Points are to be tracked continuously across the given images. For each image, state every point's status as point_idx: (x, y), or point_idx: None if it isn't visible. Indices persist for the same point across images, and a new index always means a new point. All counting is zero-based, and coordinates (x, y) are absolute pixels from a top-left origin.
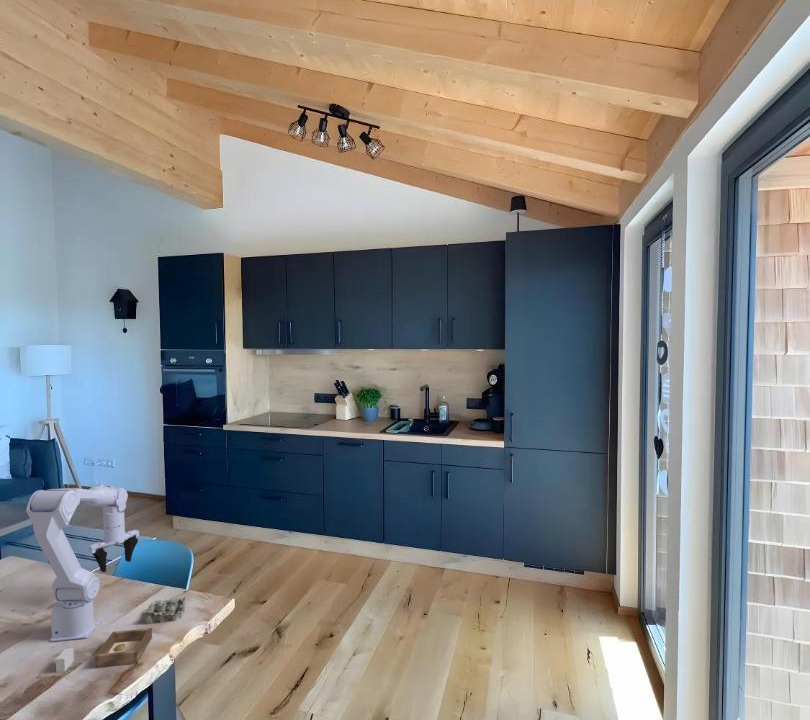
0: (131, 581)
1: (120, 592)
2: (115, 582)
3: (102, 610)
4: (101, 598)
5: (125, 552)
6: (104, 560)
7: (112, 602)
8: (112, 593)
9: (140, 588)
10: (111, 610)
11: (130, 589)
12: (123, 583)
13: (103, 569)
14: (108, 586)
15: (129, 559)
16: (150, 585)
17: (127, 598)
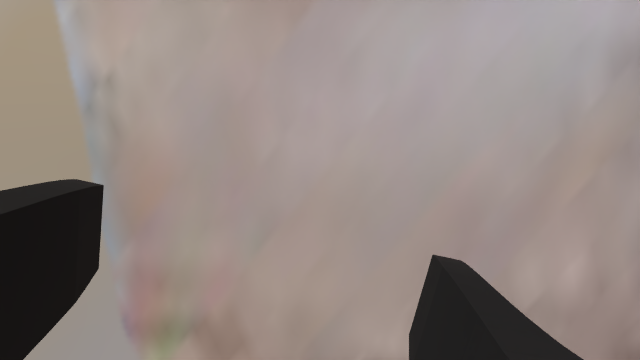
0: (109, 233)
1: (249, 177)
2: (170, 327)
3: (488, 83)
4: (359, 239)
5: (17, 343)
6: (537, 352)
7: (375, 110)
8: (281, 222)
9: (143, 74)
10: (469, 8)
11: (188, 141)
12: (154, 264)
13: (483, 280)
14: (226, 327)
15: (75, 188)
16: (75, 32)
17: (290, 43)
